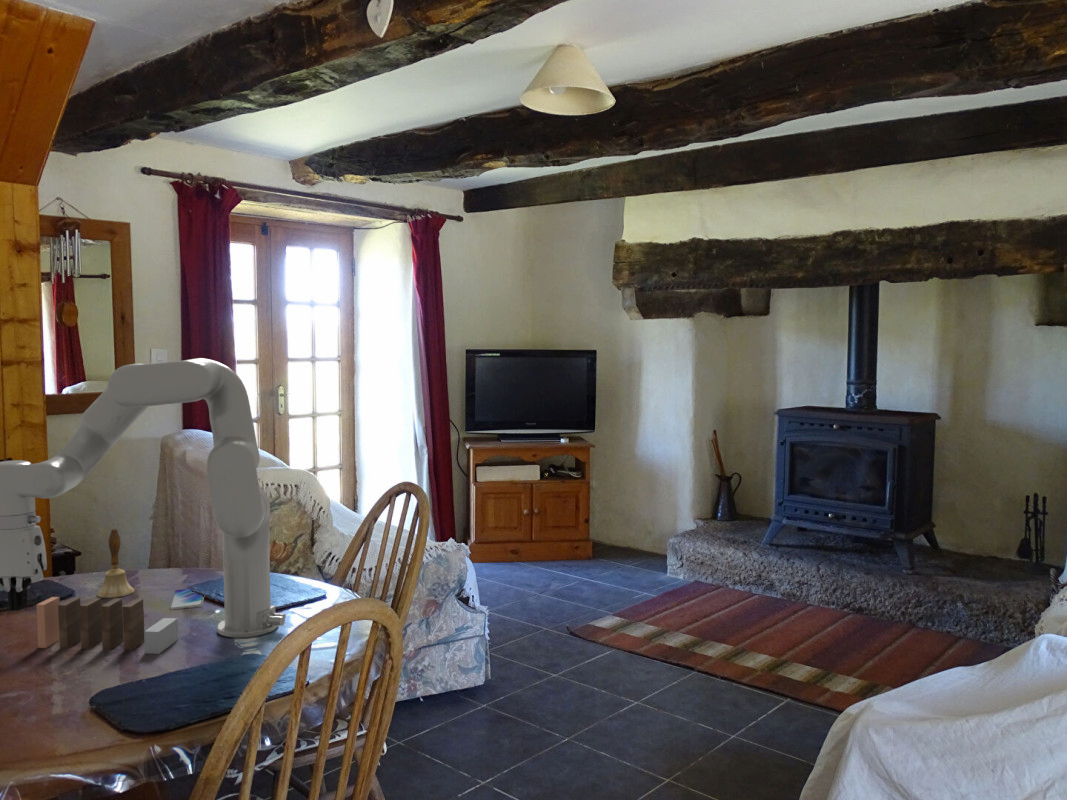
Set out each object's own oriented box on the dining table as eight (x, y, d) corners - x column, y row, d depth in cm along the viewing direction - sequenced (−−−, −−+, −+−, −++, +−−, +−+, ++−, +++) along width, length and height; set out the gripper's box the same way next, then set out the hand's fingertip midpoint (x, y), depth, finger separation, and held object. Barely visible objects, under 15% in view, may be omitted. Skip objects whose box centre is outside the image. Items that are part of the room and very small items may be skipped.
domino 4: (123, 640, 178) (122, 598, 177) (110, 649, 173) (108, 606, 172) (116, 640, 178) (114, 598, 177) (102, 649, 173) (101, 606, 172)
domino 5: (144, 641, 177) (143, 599, 177) (131, 650, 172) (130, 606, 172) (137, 641, 177) (135, 598, 177) (124, 650, 172) (122, 606, 172)
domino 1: (61, 639, 178) (59, 597, 178) (45, 648, 173) (43, 604, 173) (53, 638, 179) (52, 597, 178) (38, 647, 174) (36, 604, 173)
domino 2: (81, 639, 178) (80, 597, 177) (67, 648, 173) (65, 605, 172) (74, 639, 178) (72, 597, 178) (59, 648, 173) (58, 605, 173)
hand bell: (100, 589, 213) (98, 526, 211) (136, 587, 215) (134, 524, 214) (94, 599, 205) (91, 534, 203) (131, 596, 207) (129, 532, 206)
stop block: (178, 639, 178) (177, 618, 178) (159, 653, 171) (158, 631, 170) (164, 639, 179) (163, 618, 178) (144, 653, 171) (144, 631, 170)
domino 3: (102, 640, 178) (101, 598, 177) (88, 649, 173) (87, 605, 172) (95, 640, 178) (93, 597, 177) (81, 648, 173) (79, 605, 172)
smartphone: (169, 608, 197) (174, 589, 211) (169, 612, 197) (174, 593, 212) (202, 604, 200) (205, 586, 214) (202, 608, 200) (205, 589, 214)
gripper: (60, 517, 178) (64, 603, 179) (-8, 516, 179) (-4, 602, 180) (37, 526, 170) (41, 615, 172) (-34, 524, 171) (-30, 613, 173)
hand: (18, 608), depth 176 cm, fingers closed
